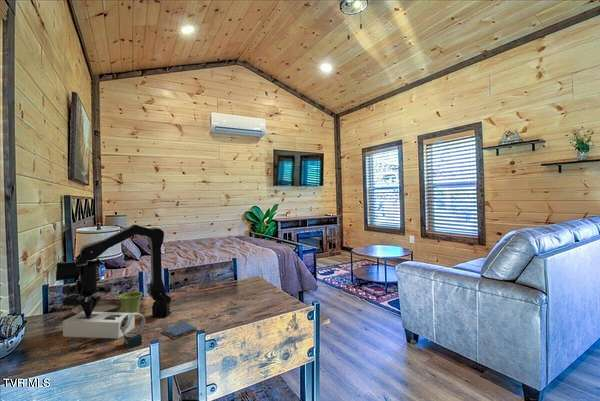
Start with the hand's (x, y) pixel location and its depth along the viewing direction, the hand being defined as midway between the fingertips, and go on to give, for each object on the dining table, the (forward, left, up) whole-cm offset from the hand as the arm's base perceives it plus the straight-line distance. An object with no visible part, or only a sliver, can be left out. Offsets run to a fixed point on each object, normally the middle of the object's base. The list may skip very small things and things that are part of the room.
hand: (88, 316), depth 122 cm
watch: (-24, +9, -6) cm, 26 cm away
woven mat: (-36, -3, -7) cm, 37 cm away
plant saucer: (+11, -21, -6) cm, 25 cm away
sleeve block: (-5, 0, -6) cm, 8 cm away
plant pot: (-5, -20, -6) cm, 22 cm away
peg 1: (0, 0, -6) cm, 6 cm away
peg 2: (-10, 0, -6) cm, 12 cm away
